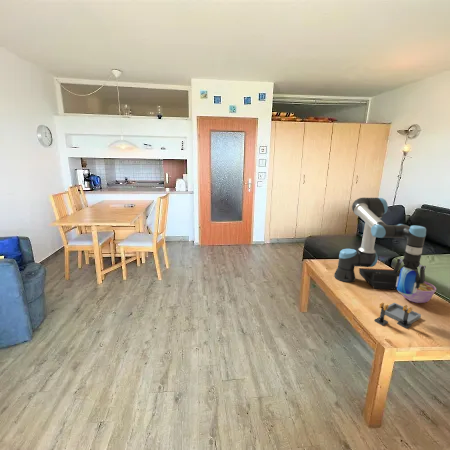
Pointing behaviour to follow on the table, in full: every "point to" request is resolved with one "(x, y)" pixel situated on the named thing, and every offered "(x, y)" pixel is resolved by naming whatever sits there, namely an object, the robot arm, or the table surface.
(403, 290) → the beer can
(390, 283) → the video game console
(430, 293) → the bowl of food
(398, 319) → the tray
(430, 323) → the table surface
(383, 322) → the clip posts
